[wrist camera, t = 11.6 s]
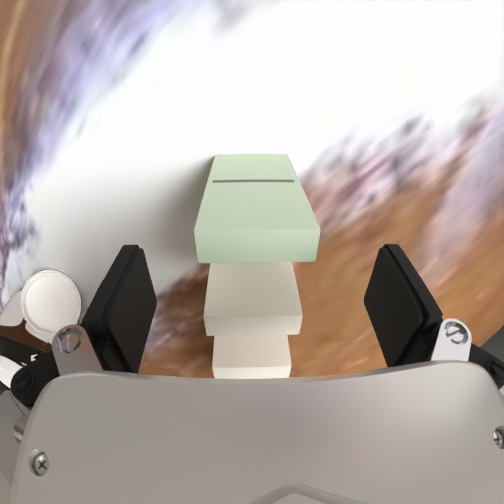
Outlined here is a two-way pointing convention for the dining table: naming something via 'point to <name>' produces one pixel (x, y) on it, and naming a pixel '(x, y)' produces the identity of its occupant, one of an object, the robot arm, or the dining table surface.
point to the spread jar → (35, 319)
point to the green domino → (255, 212)
